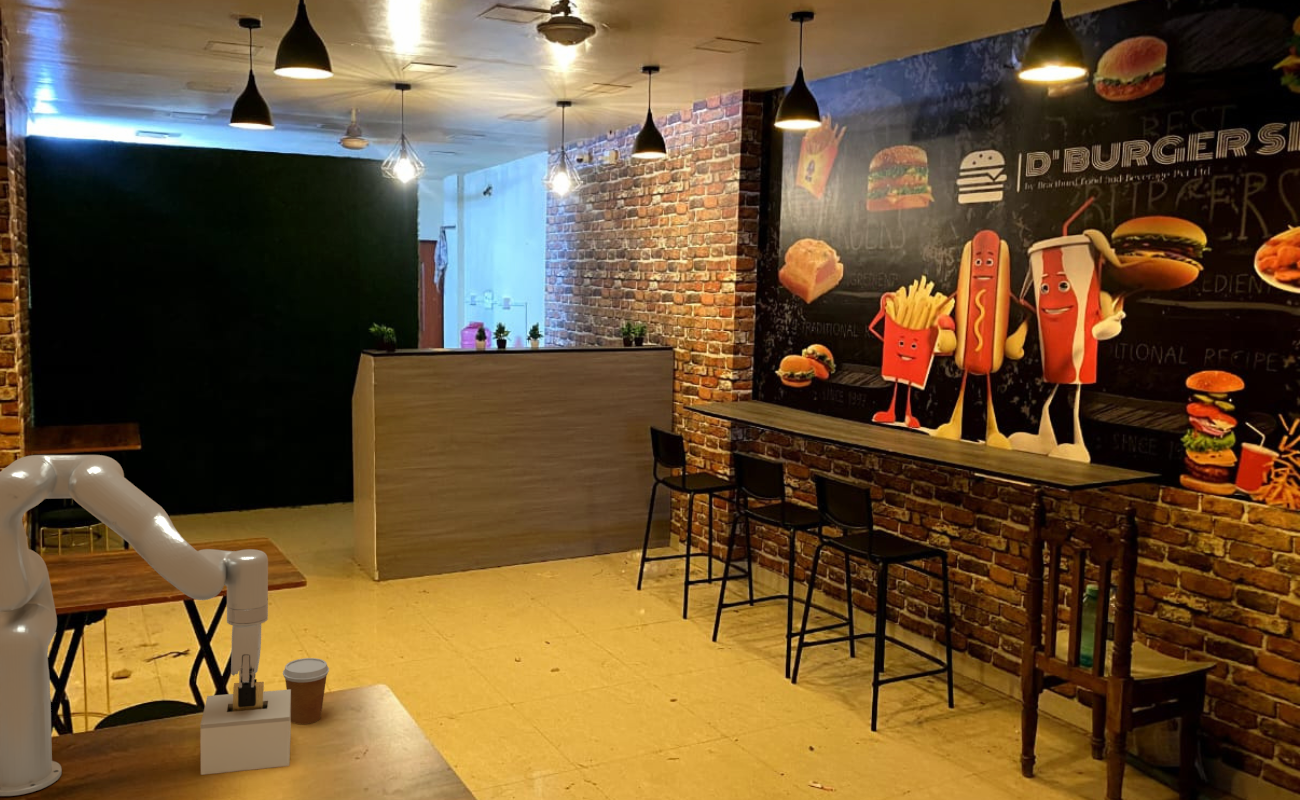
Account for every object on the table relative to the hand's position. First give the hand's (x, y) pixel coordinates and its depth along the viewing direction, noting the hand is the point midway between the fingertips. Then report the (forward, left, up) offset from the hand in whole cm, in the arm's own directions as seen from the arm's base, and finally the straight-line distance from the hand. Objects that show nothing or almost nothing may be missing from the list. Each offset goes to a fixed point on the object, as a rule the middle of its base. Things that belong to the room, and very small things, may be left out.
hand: (247, 701), depth 203 cm
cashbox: (0, 0, -11) cm, 11 cm away
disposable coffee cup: (+11, +15, -11) cm, 22 cm away
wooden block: (+3, 0, +1) cm, 3 cm away
